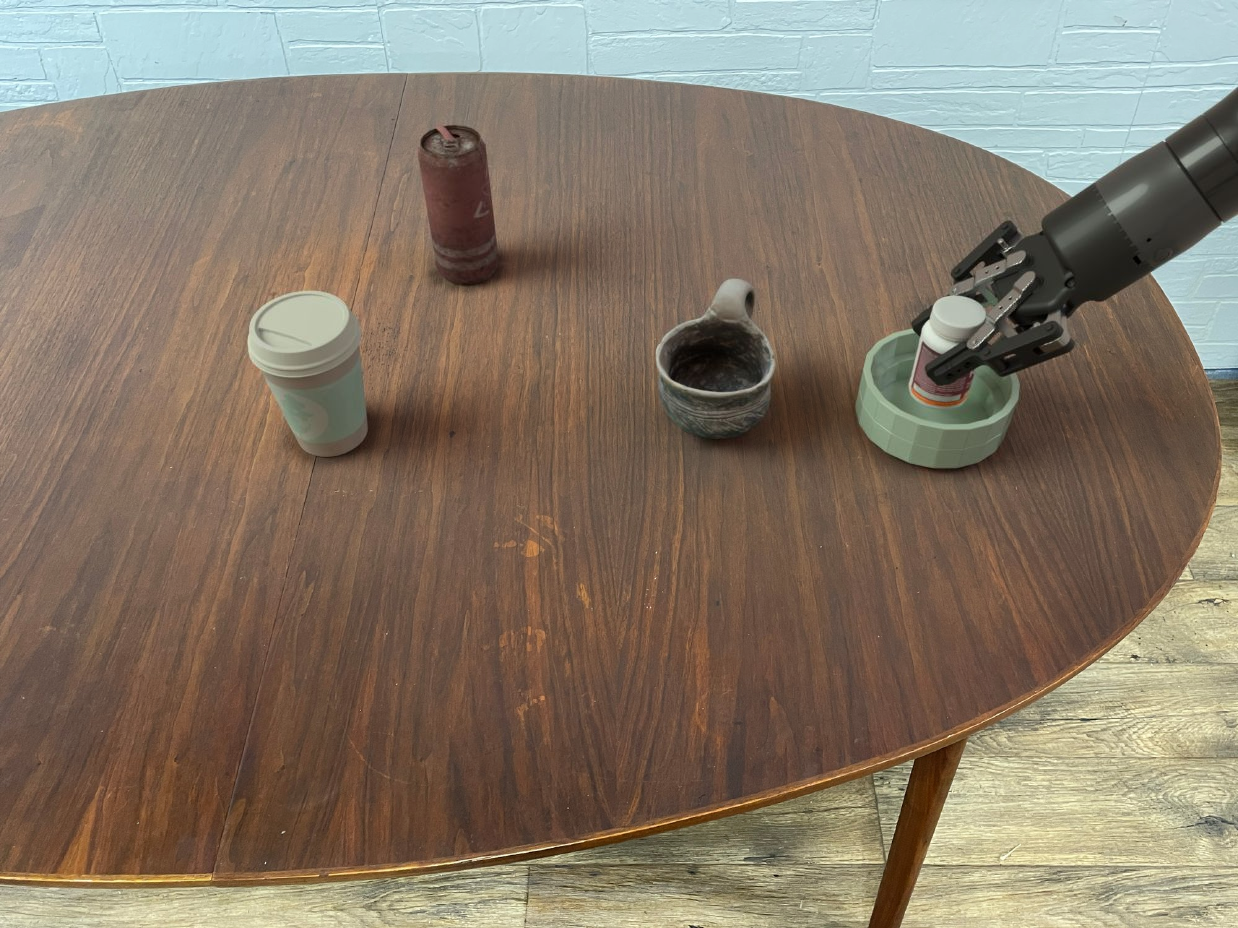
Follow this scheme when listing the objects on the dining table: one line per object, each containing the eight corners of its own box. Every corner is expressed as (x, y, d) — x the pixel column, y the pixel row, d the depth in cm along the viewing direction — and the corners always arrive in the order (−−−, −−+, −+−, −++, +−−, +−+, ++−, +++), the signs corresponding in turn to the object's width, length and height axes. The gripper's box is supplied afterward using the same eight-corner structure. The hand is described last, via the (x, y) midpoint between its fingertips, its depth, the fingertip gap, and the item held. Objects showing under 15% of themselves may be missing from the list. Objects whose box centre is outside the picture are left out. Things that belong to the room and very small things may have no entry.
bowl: (983, 371, 92) (998, 327, 88) (1020, 472, 83) (1037, 428, 80) (844, 372, 92) (853, 328, 88) (867, 473, 83) (878, 429, 80)
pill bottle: (973, 411, 84) (999, 330, 77) (914, 412, 84) (935, 331, 77) (959, 372, 87) (983, 291, 81) (902, 373, 87) (922, 292, 81)
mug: (645, 450, 85) (646, 357, 78) (667, 352, 94) (670, 260, 87) (763, 464, 84) (775, 371, 77) (774, 363, 93) (787, 271, 85)
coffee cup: (266, 422, 88) (225, 310, 79) (359, 384, 91) (330, 273, 83) (303, 485, 83) (265, 373, 74) (401, 442, 86) (375, 330, 78)
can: (474, 241, 106) (457, 113, 96) (511, 270, 103) (498, 140, 92) (424, 265, 103) (401, 136, 93) (460, 295, 100) (440, 164, 90)
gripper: (1072, 136, 76) (880, 273, 85) (1139, 251, 67) (914, 392, 75) (1121, 198, 80) (932, 323, 89) (1191, 316, 70) (971, 442, 79)
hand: (925, 354), depth 82 cm, fingers closed on pill bottle, 4 cm apart
